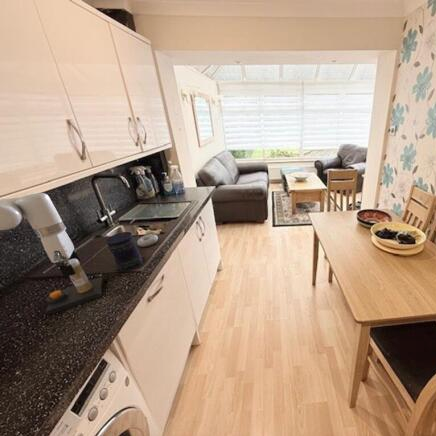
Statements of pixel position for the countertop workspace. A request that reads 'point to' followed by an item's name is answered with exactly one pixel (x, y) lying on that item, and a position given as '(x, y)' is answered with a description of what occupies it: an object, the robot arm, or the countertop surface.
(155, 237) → the donut
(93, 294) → the scale
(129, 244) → the storage jar
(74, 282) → the sprinkles bottle
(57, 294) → the tare button
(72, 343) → the countertop surface
